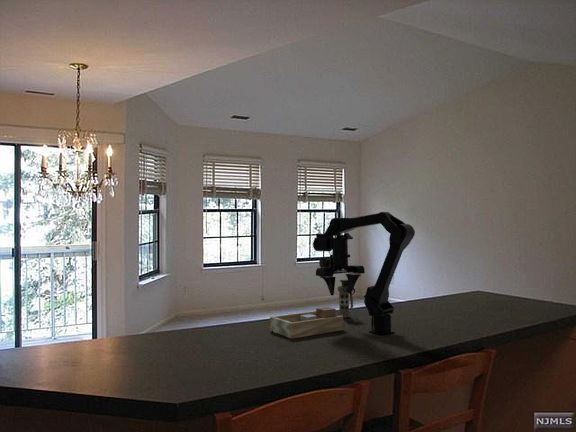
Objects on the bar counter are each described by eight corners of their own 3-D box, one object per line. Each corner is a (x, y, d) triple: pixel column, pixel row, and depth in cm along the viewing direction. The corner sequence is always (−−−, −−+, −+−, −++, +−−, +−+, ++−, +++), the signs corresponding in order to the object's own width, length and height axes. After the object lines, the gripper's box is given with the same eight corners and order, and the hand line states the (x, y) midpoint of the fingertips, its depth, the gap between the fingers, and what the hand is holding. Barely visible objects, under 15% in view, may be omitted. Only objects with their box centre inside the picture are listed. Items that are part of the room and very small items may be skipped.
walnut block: (335, 322, 182) (335, 308, 182) (324, 324, 179) (324, 310, 179) (327, 320, 186) (327, 306, 186) (316, 322, 183) (316, 308, 183)
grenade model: (346, 319, 200) (345, 281, 200) (336, 316, 206) (335, 279, 206) (359, 317, 203) (358, 280, 203) (348, 315, 209) (348, 278, 209)
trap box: (343, 329, 181) (343, 315, 181) (291, 338, 169) (291, 323, 169) (319, 323, 193) (319, 310, 193) (270, 330, 181) (270, 316, 181)
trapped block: (317, 328, 186) (317, 315, 186) (308, 329, 183) (308, 317, 183) (309, 326, 189) (309, 314, 189) (300, 328, 186) (300, 315, 186)
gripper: (346, 249, 199) (347, 289, 198) (306, 252, 189) (307, 294, 188) (365, 250, 189) (366, 292, 189) (324, 253, 179) (325, 297, 179)
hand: (341, 294), depth 187 cm, fingers open, 8 cm apart
